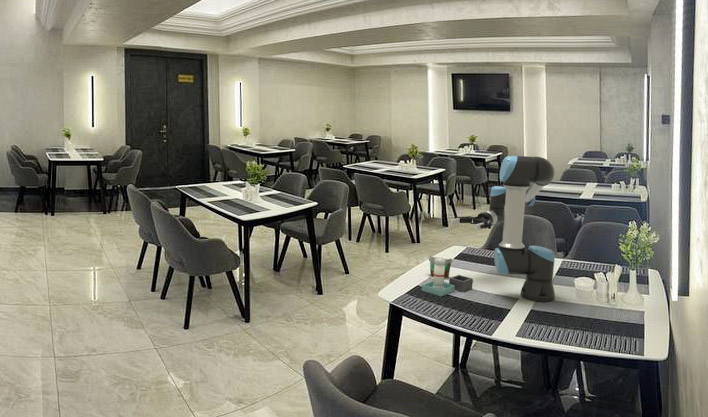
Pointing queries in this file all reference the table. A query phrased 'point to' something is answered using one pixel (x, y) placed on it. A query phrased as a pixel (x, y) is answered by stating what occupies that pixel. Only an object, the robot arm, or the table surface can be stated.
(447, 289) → the parts tray
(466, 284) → the socket block
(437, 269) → the fuse
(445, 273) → the food container
